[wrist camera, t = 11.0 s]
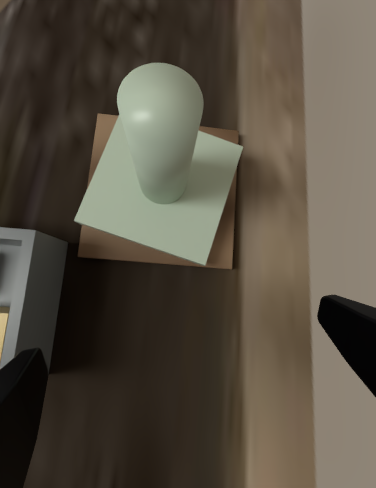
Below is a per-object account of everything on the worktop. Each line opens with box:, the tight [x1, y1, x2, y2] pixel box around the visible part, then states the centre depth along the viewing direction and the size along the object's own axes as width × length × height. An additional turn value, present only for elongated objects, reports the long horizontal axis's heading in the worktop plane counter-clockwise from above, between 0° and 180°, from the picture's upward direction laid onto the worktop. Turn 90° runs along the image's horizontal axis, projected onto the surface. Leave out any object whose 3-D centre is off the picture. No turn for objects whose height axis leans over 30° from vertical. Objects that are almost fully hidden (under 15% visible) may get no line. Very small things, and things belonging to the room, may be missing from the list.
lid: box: [74, 63, 243, 266], centre depth 14 cm, size 9×9×9 cm
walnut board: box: [78, 114, 239, 269], centre depth 19 cm, size 11×11×1 cm
